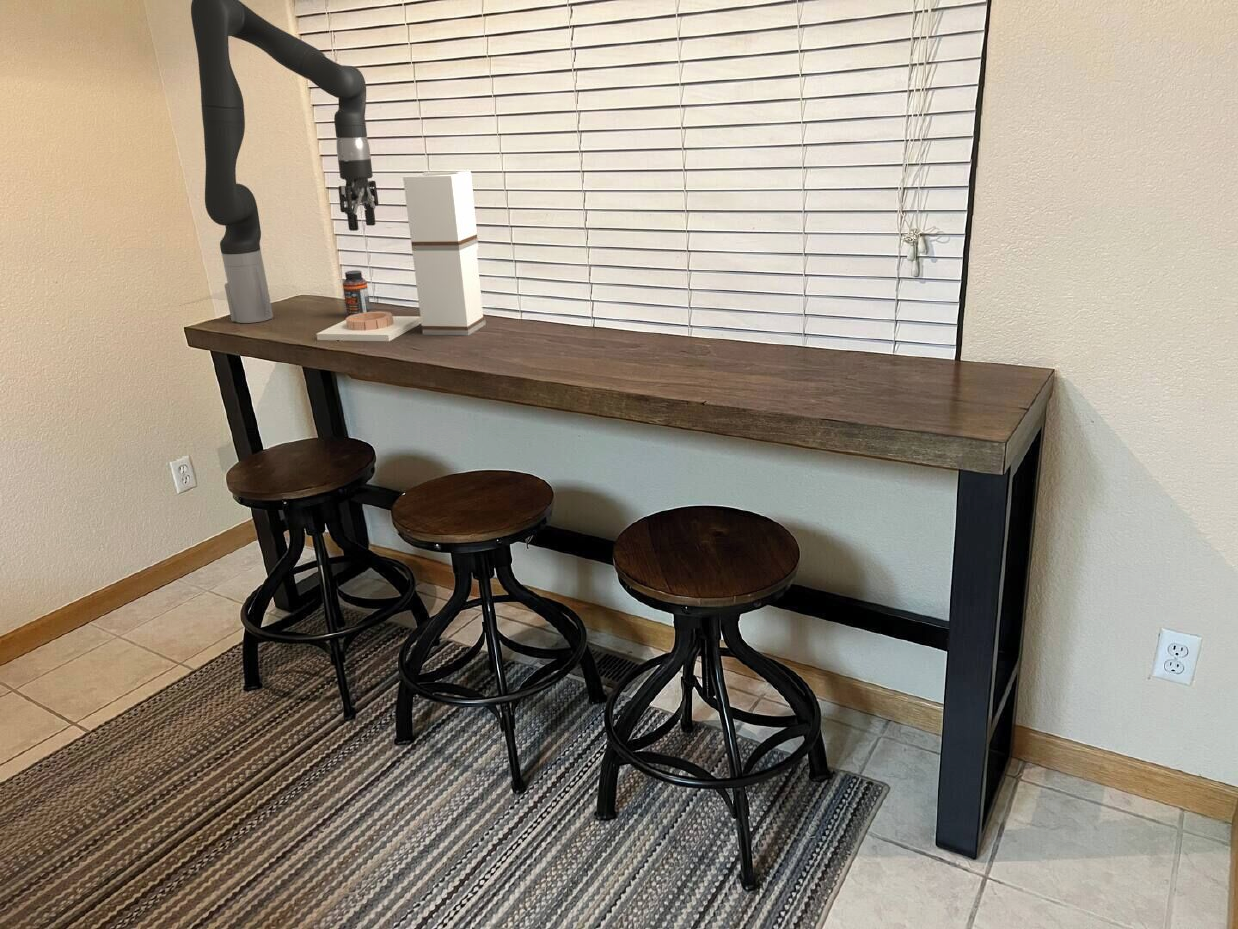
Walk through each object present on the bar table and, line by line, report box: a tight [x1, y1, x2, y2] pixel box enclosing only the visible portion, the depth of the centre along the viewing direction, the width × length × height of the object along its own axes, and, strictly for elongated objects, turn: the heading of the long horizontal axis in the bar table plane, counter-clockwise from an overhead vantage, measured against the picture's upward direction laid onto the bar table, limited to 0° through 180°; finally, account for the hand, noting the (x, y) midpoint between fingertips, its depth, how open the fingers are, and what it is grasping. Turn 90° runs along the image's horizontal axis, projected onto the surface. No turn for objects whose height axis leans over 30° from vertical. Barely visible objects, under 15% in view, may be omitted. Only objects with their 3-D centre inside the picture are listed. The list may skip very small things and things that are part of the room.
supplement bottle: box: [342, 269, 372, 317], centre depth 231 cm, size 6×6×11 cm
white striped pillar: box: [402, 170, 486, 336], centre depth 209 cm, size 11×11×35 cm
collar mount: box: [316, 311, 422, 342], centre depth 217 cm, size 18×18×4 cm
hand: (362, 227), depth 222 cm, fingers open, 8 cm apart
